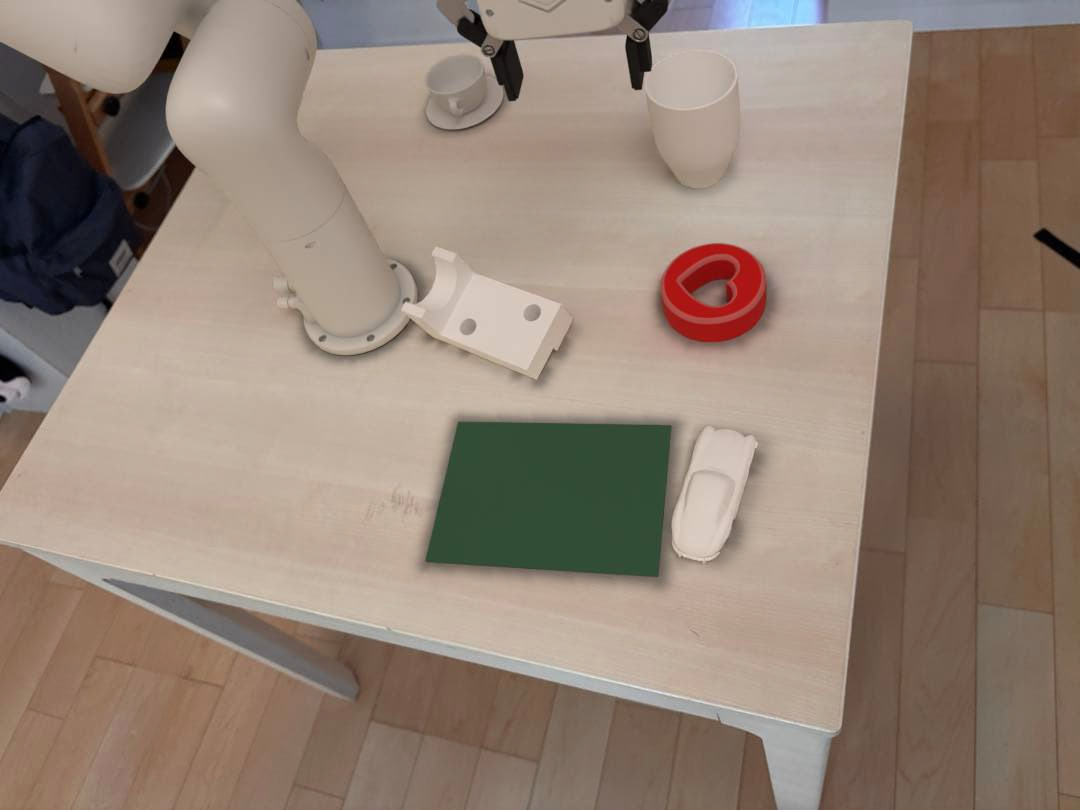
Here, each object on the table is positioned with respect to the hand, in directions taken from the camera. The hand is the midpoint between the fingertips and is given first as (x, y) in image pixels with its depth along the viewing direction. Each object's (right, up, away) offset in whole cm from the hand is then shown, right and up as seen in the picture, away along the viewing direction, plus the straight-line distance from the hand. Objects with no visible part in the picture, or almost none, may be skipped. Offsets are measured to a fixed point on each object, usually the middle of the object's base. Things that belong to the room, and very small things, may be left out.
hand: (576, 83), depth 66 cm
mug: (+15, +1, +27) cm, 31 cm away
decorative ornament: (+14, -15, +17) cm, 26 cm away
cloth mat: (-2, -32, +9) cm, 34 cm away
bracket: (-7, -18, +20) cm, 28 cm away
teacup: (-12, +13, +42) cm, 45 cm away
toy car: (+12, -32, +6) cm, 35 cm away
